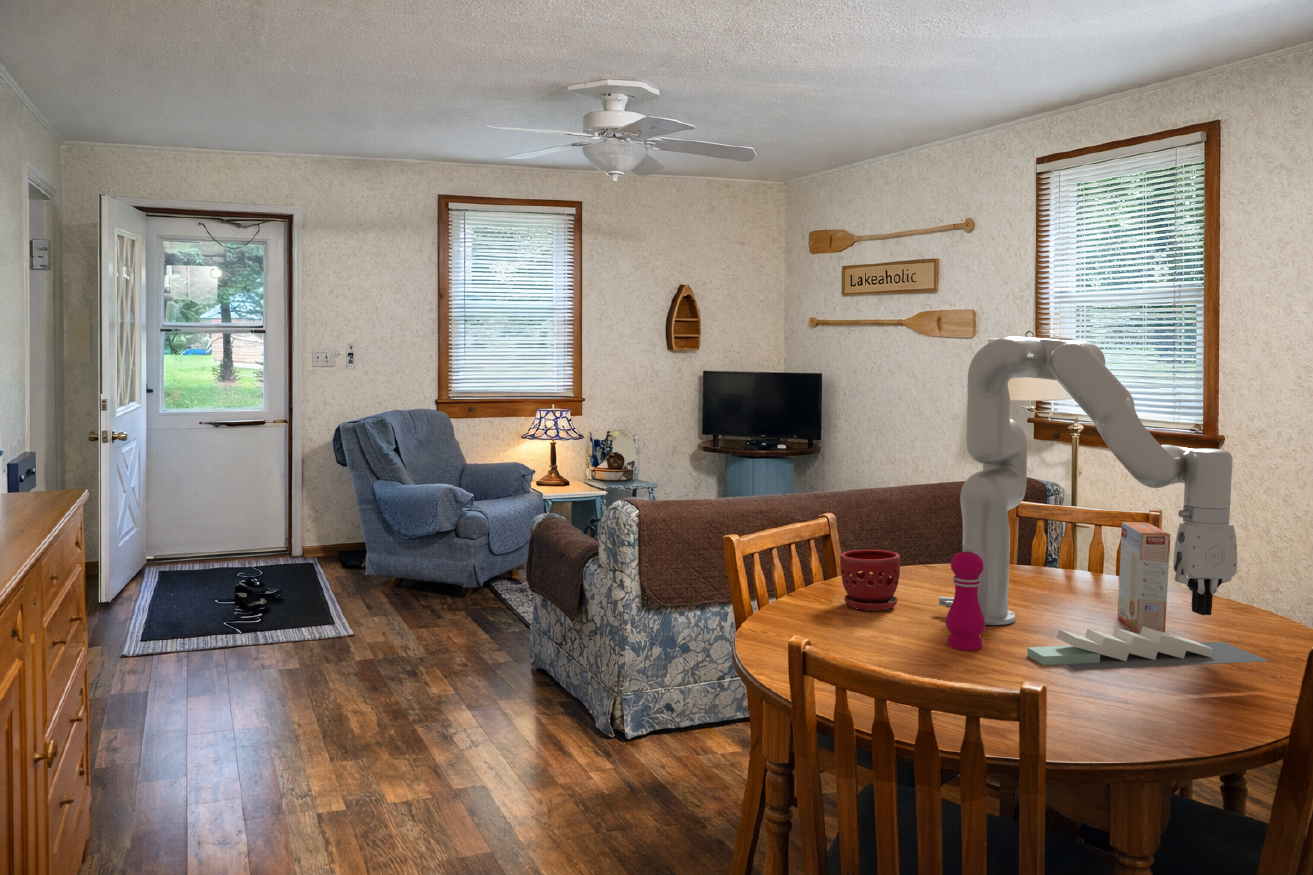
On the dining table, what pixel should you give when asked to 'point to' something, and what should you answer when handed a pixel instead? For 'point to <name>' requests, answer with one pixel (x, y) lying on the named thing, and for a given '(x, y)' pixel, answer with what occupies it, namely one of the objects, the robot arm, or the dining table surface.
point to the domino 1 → (1090, 645)
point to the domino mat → (1175, 658)
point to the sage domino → (1062, 655)
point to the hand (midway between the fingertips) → (1201, 613)
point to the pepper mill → (966, 602)
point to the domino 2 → (1119, 644)
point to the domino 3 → (1147, 643)
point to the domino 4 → (1176, 641)
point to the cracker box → (1143, 576)
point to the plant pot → (870, 578)
